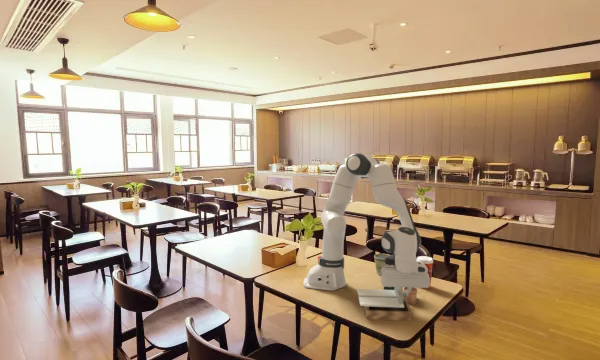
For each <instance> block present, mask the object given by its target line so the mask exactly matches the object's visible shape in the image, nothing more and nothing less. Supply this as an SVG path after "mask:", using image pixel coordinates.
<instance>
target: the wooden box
mask: <svg viewBox="0 0 600 360" xmlns="http://www.w3.org/2000/svg"><path fill="white" fill-rule="evenodd" d="M403 304H404V308H400V307H373V306H363V309H364V313H365V317H366V320H384V321H405V322H407V321H408V322H409V321H412V311H411V306H410V304H408V302H407V300H406V298H405V297H403Z"/></svg>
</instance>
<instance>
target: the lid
mask: <svg viewBox="0 0 600 360" xmlns="http://www.w3.org/2000/svg"><path fill="white" fill-rule="evenodd" d="M357 296H358V297H357V298H358V302H359V306H360V307H364V306H373V307H400V308H404V304H403V295H402V293H401V291H400V289H399V287H394V290H384V289H373V288H372V289H371V288H370V289H367V288H357Z"/></svg>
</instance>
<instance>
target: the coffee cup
mask: <svg viewBox="0 0 600 360" xmlns="http://www.w3.org/2000/svg"><path fill="white" fill-rule="evenodd" d="M416 259H417V261H418V262H421V263H424V264H425V265H426V267H427V268H428V272H427V273H428V274H429V278H430V286H429V287H428V288H422V289H424V290H427V289H430V288H431V286H432V285H431V283H432V273H433V263H434V260H433V259H434V258H432V257H431V256H426V255H425V256H424V255H421V256H419V255H418V256H417V257H416Z"/></svg>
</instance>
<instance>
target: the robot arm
mask: <svg viewBox="0 0 600 360" xmlns="http://www.w3.org/2000/svg"><path fill="white" fill-rule="evenodd" d="M345 162H346V163H344V164H341V165H340V166H339V167H338V168H337V172H336V173H335V176H334V179H333V182H332V184H331V188H330V192H329V196H328V198H327V200H326V202H325V205H324V207H323V209H322V213H321V215H320V223H321V225H322V226H323V234H322V235H323V236H322V240H321V241H322V242H321V244H322V245H321V255H320V254H318V256H317V261H318V262H317V264H316V265H314V266H313V267H311V268H310V269H309V271H308V273H307V276H306V277H304V279H303V283H302V285H303V287H304V288H306V289H313V290H323V291H331V292H333V291H336V290H337V289H341V288H344V287H346V285H347V280H346V278H345V271H344V268H345V257H344V240H345V235H346V228H347V222H346V219H345V217H344V214H345V211H346V209H347V208H348V206H349V204H350V203H351V199H352V195H353V193H354V189H355V185H356V182H357V181H358V179H359V178H360V179H369V180H370V185H371V190H372V196H373V198H374V200H375V201H376V202H377V203H378V204H380V205H381V206H384V207H387V208H389V209H391V210H393V211H395V212H396V213H397V215H398V218H399V221H400V223H401V227H397V229H396V230H392V231H391V230H390V231H387V232H386V231H385V232H384V233H383V234H382V236H381V239H380V244H381V248H382V249H383V250H384V251H385V252H386V253H387V254H388V253H389V254H393V255H394V254H395V255H396V256H395V265H384V266H382V268H381V274H382V275H380V276H381V278H380V282H381V285H382V287H383V288H384V287H399V289H400V291H401V293H402V295H403V297H408V293H409V292H410V291H411V288H416V289H423V288H428V287H429V286H430V287H431V285H430V278H429V274H428V273H427V272H428V268H427V267H426V265H425V264H424V263H421V262H418V261H417V256H416V255H417V251H418V250H419V248H420V247H421V244H422V238H421V236H420V233H419V231H418V230H417V228H416V226H415V222H414V219H413V216H412V214H411V211H410V208H409V205H408V203H407V201H406V199H405V198H404V196H402V195H401V194H400V192H399V190H398V189H397V185H396V180H395V177H394V173H393V171H392V169H391V166H390V165H388V164H387V163H380V161H379V160H378V159H377V158H375V157H373V156H370V155H368V154H364V153H361V152H360V153H359V152H358V153H357V152H355V153H352V154H350V155H349V156H348V157H347V160H346V161H345ZM405 287H407V288H408V289H407V291H406V292H405V291H404V288H405ZM401 289H403V291H402V290H401Z"/></svg>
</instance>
